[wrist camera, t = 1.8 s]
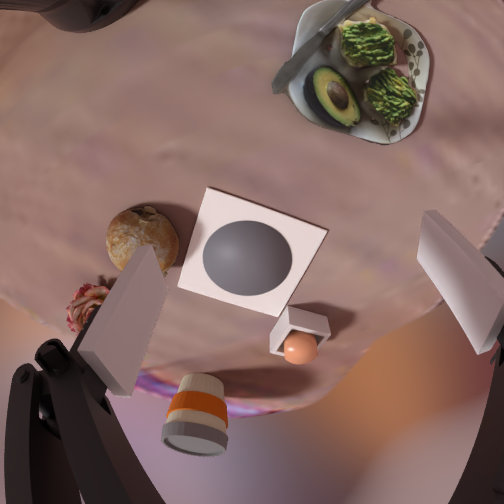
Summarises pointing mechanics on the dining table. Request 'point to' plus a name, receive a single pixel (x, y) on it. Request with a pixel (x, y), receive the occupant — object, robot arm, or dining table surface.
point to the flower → (85, 305)
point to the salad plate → (355, 71)
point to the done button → (300, 347)
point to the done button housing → (298, 328)
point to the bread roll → (142, 237)
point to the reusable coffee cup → (197, 417)
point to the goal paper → (247, 253)
